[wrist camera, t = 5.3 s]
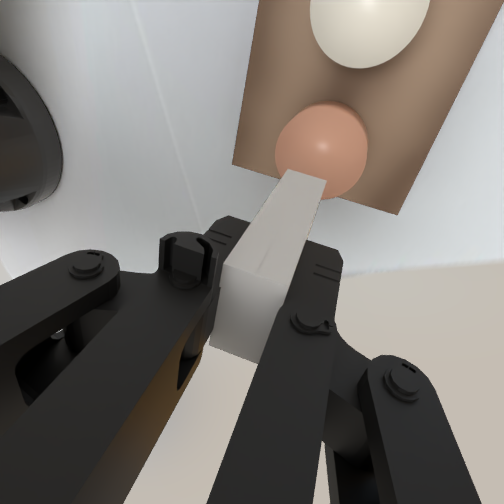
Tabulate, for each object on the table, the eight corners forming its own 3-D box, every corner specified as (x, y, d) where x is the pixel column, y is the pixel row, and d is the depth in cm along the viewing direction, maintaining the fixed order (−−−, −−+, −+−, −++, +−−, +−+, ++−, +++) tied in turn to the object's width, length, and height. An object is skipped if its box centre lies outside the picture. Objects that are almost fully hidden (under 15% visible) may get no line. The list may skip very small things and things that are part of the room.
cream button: (306, 51, 19) (297, 54, 17) (336, -70, 16) (330, -85, 14) (397, 74, 18) (399, 80, 16) (445, -48, 15) (456, -61, 13)
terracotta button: (276, 171, 23) (266, 185, 21) (296, 90, 20) (287, 97, 18) (350, 193, 22) (347, 210, 20) (381, 113, 19) (382, 123, 17)
